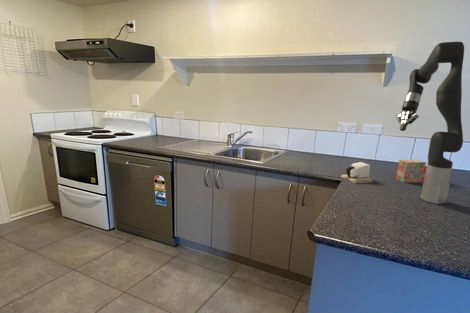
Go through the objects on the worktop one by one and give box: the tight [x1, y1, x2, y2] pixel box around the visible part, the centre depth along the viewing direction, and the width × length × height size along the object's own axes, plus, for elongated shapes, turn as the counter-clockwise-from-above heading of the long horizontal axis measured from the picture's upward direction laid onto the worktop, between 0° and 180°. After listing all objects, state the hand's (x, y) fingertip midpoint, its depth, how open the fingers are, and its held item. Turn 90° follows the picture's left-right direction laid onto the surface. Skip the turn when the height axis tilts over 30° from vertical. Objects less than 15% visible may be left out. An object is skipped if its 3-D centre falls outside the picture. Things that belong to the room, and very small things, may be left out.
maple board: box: [340, 174, 374, 184], centre depth 158 cm, size 12×12×1 cm
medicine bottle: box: [345, 161, 371, 178], centre depth 158 cm, size 7×7×12 cm
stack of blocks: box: [395, 159, 427, 183], centre depth 160 cm, size 21×6×12 cm, turn 97°
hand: (402, 130), depth 155 cm, fingers closed
